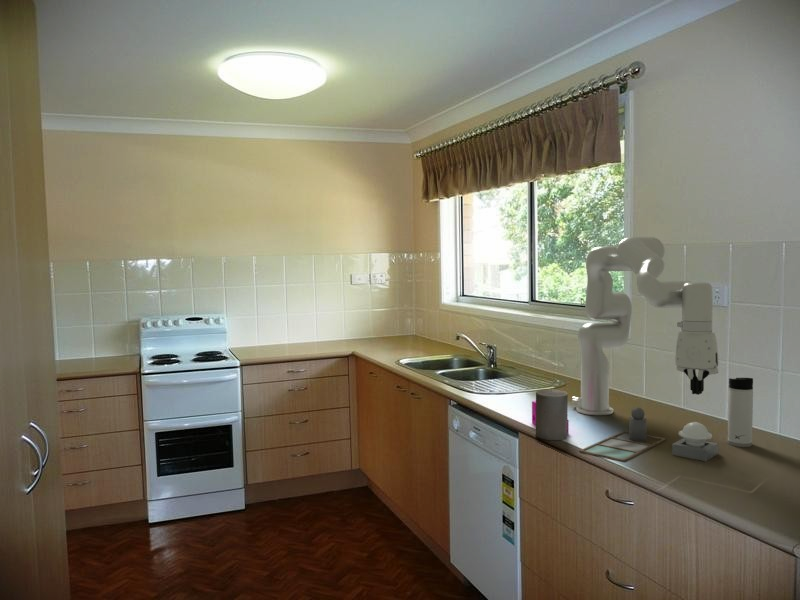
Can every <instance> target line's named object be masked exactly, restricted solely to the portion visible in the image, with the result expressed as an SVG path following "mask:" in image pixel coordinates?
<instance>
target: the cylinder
mask: <svg viewBox="0 0 800 600" xmlns="http://www.w3.org/2000/svg"><path fill="white" fill-rule="evenodd" d="M630 414H631V416H630V417H629V418H628V419H629V422H628V424H629V425H628V426H629V427H628V428H629V431H628V432H629V433H628V434H629V436H628V440H630V441H635V442H640V443H644V442H646V441H647V437H646V435H647V418H646V417H645V415H646V413H645V410H644V409H642V408H641V407H639V406H637V407H633V408H632V410H631V413H630Z"/></svg>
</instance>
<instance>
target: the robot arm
mask: <svg viewBox="0 0 800 600" xmlns="http://www.w3.org/2000/svg"><path fill="white" fill-rule="evenodd" d="M664 255H665V247H664V243H663V242H662V241H661V240H660V239H659V238H657V237H654V236H630V237H625V238H623V239H622V240H620V241H619V243H617V245H602V246H597V247H593V248H592V249H591V250H590V251H589V252H588V254H587V255H586V261H585V268H586V274H587V275H586V277H587V282H586V283H587V284H586V293H585V294H586V295H585V303H584V304H585V306H584V307H585V308H584V309H585V315H586V317H587V318H589V319H591V320H596V321H597V320H599V321H601V320H602V322H589V323H588V322H587V323H585V324H583V325H581V327H580V328H579V329H578V332H577V339H578V345H579V351H580V396H579V397H578V396H572V397H571V403H572V404H577V406H575V407H576V409H575V410H576V412H577V413H579V414H583V415H589V416H608V415H612V414H613V413H614V408H613V407H611V406H610V404H609V403H610V401H609V400H610V394H609V393H610V386H609V385H610V363H609V362H610V361H609V359H608V357H607V355H606V354H605V352H604V350H614V349H622V348H623V347H625V346H626V345H627V343H628V341H629V337H630V336H629V335H630V330H631V329H630V327H631V320H632V319H631V318H632V302H631V299H630V297H629V296H628V295H627V293H624V292H620V291H613V287H614V279H613V276H612V274H611V273H610V272H633V273H634V274H635V275H636V286H637V291H638V293H639V295H640V296H641V297H642V298H643V299H644V300H645V301H646V302H647V303H648V304H650V305H651V306H653V307H655V308H658V309H669V308H671V309H673V308H679V309H680V308H682V309H681V321H680V322H676V326H677V328H681V331H679V332H678V335H677V338H676V339H677V340H676V347H675V358H674V360H675V365H676V371H679V372H681V373H684V374H685V375H686V376H687V377H688V379H689V380H690V383H689V384H690V385H689V386H690V387H689V389H690V391H691V394H692V395H697V396H699V395H701V394H703V392H704V391H705V389H704V387H705V382H704V380H705V379H706V378H708V377H709V376H710V375H711V376H712V375H716V374H718V373H719V369H718V366H719V351H718V343H717V336H716V332H713V286H712V283H709V282H703V281H702V282H701V281H698V282H697V281H689V280H687V281H686V280H673V281H671V280H668V281H660V280H659V279H657V278H659V277H660V276H661V274H662V273H663V272H664V269H665V262H664V259H663V258H664ZM603 320H604V321H605V320H610V321H608V322H607V321H606V322H604V321H603ZM697 370H698V371H697Z"/></svg>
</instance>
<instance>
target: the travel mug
mask: <svg viewBox="0 0 800 600" xmlns="http://www.w3.org/2000/svg"><path fill="white" fill-rule="evenodd" d="M753 386H754V378H753V377H735V378H728V395H727V396H728V399H727V401H728V402H727V404H728V405H727V410H728V411H727V443H728V444H729V445H730V446H733V447H737V448H749V447H752V445H753V411H754V410H753V409H754V408H753V407H754V406H753V405H754V387H753Z"/></svg>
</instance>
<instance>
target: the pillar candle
mask: <svg viewBox="0 0 800 600" xmlns="http://www.w3.org/2000/svg"><path fill="white" fill-rule="evenodd" d="M568 396H569V393H568V392H567V391H564V390H559V389H553V388H552V387H550V389H549V388H548V389H539V390H536V391H535V401H536V425H535V437H536V438H537V439H541V440H547V441H562V440H565V439H567V438H568V434H567V419H568V405H569V404H568V399H569V397H568Z"/></svg>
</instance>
